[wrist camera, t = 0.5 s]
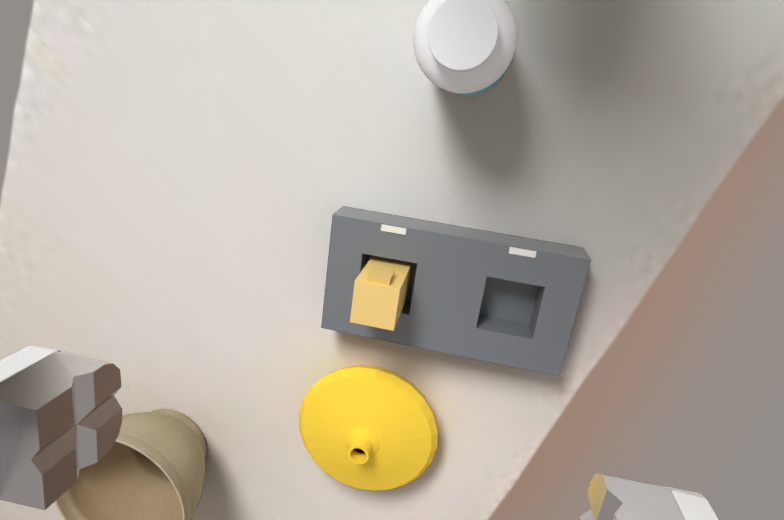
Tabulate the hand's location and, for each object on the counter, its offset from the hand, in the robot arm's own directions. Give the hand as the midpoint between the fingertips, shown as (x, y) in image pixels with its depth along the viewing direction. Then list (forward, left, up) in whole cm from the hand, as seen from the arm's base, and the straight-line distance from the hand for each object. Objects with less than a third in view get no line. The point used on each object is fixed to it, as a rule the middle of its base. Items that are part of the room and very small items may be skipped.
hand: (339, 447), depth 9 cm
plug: (+12, -5, -43) cm, 45 cm away
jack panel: (+12, +1, -43) cm, 45 cm away
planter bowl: (+40, -30, -43) cm, 66 cm away
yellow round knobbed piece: (+30, -5, -44) cm, 53 cm away
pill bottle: (-10, -1, -43) cm, 44 cm away
